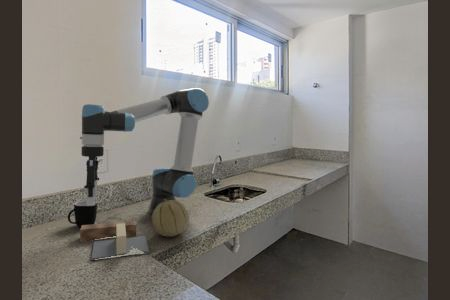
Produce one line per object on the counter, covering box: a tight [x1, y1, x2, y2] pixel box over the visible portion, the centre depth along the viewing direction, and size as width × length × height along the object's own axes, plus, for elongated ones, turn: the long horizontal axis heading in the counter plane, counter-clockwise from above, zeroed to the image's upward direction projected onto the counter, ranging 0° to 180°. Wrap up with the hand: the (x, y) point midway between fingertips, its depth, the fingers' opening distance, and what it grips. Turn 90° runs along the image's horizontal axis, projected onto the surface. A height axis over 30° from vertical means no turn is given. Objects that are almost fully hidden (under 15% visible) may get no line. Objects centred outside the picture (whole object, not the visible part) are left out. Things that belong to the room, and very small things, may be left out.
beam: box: [79, 220, 138, 243], centre depth 105 cm, size 20×5×5 cm, turn 113°
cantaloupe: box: [151, 199, 190, 238], centre depth 108 cm, size 15×15×15 cm
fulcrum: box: [90, 223, 150, 261], centre depth 95 cm, size 18×14×7 cm
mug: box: [67, 200, 98, 228], centre depth 114 cm, size 12×9×10 cm
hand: (92, 200), depth 102 cm, fingers open, 13 cm apart
